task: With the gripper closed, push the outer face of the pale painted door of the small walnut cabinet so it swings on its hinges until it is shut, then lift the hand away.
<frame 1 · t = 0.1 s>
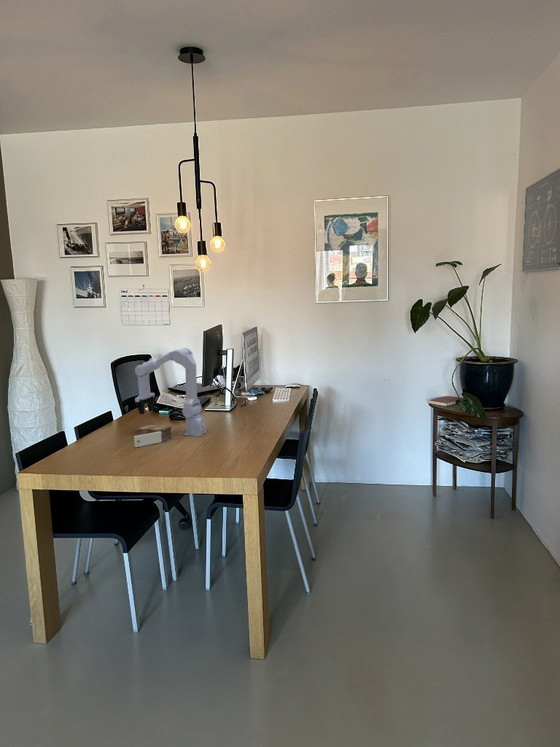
hand: (146, 412, 276), 10 cm above the table, tool pointing down, fingers open, 7 cm apart
cabinet: (155, 439, 260), on the table
door: (149, 439, 250), point 3 cm above the table, hinge at 55.0°
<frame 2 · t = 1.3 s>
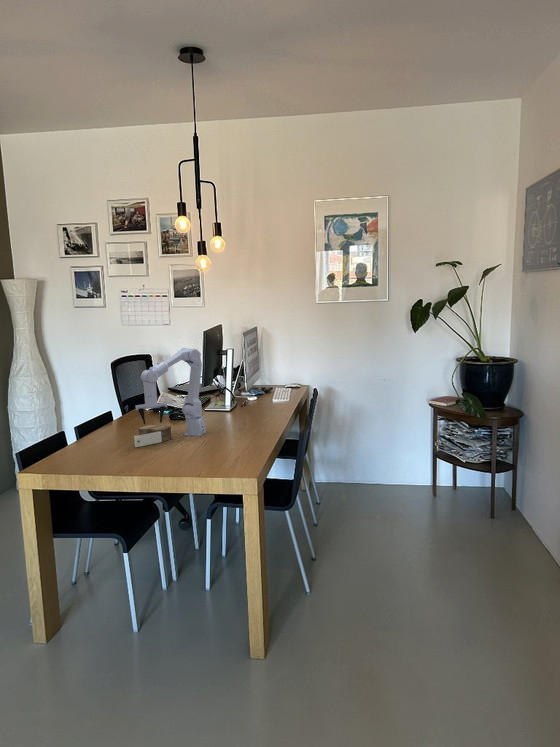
hand: (152, 423, 250), 10 cm above the table, tool pointing down, fingers open, 7 cm apart
nothing on the table moved.
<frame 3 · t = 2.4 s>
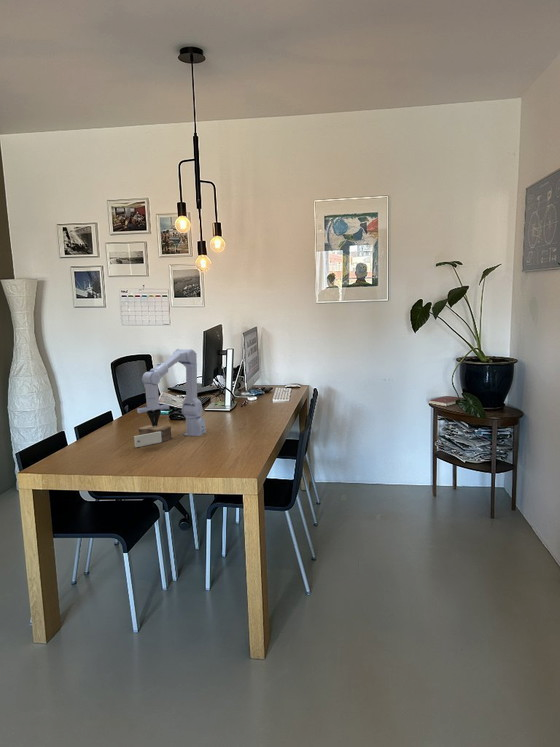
hand: (154, 426, 244), 10 cm above the table, tool pointing down, fingers closed
nothing on the table moved.
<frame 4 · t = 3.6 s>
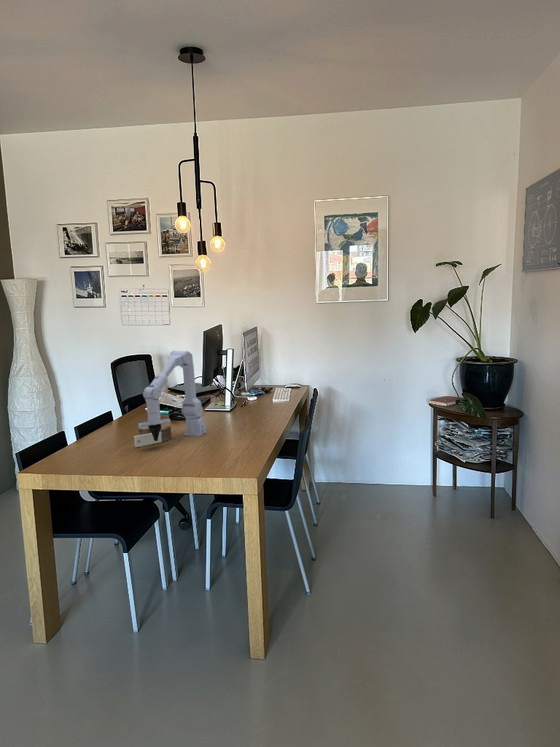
hand: (155, 440, 245), 3 cm above the table, tool pointing down, fingers closed
nothing on the table moved.
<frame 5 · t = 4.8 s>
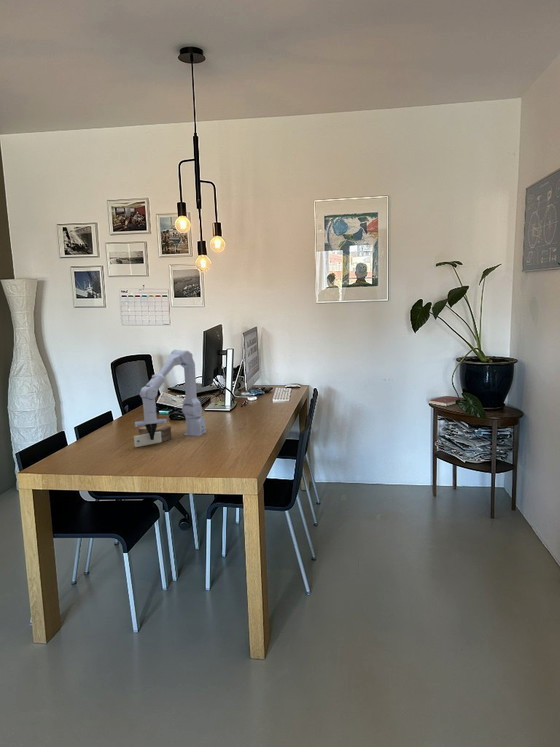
hand: (152, 439, 249), 3 cm above the table, tool pointing down, fingers closed, pressing on door
door: (149, 439, 250), point 3 cm above the table, hinge at 53.0°, touching gripper
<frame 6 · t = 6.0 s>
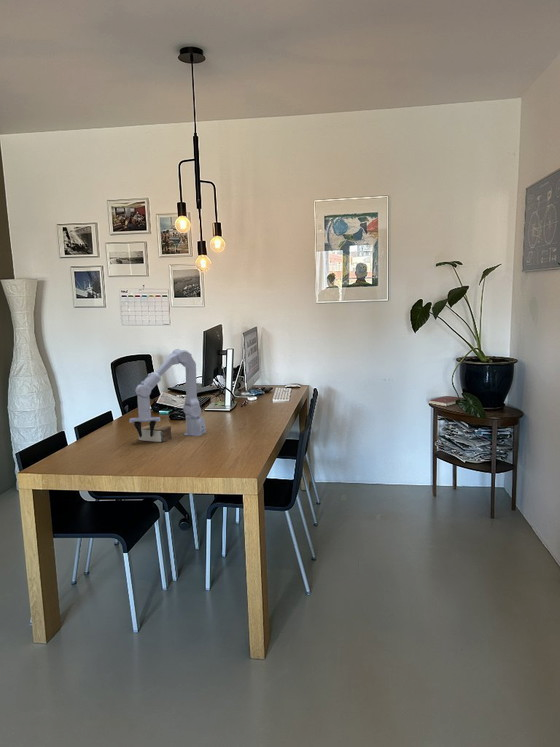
hand: (146, 436, 254), 3 cm above the table, tool pointing down, fingers open, 5 cm apart
door: (150, 435, 256), point 3 cm above the table, hinge at -1.3°, touching cabinet, gripper
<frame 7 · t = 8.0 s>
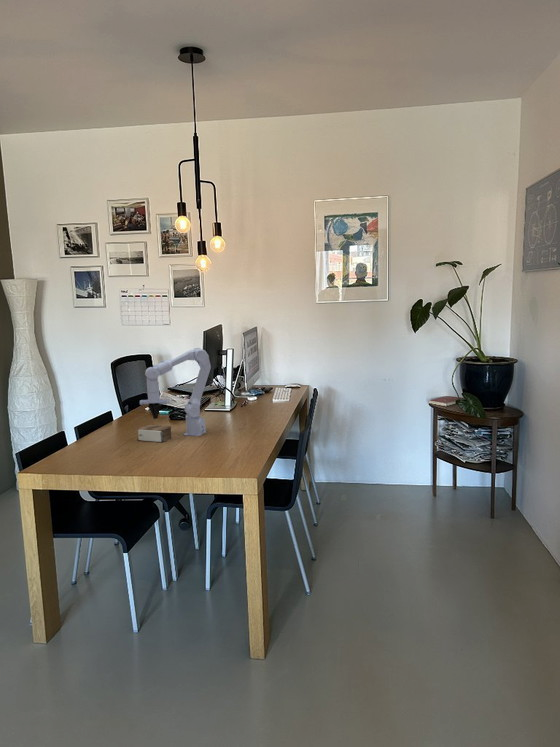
hand: (155, 418, 260), 10 cm above the table, tool pointing down, fingers closed
door: (150, 435, 256), point 3 cm above the table, hinge at -1.2°
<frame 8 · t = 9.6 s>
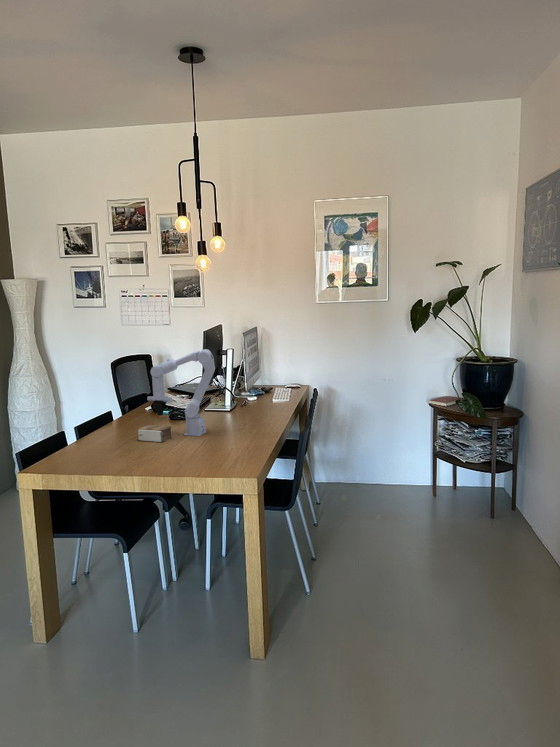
hand: (160, 415, 266), 10 cm above the table, tool pointing down, fingers closed
nothing on the table moved.
at the end: door at -1° (first picture: +55°); the gripper is holding nothing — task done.
